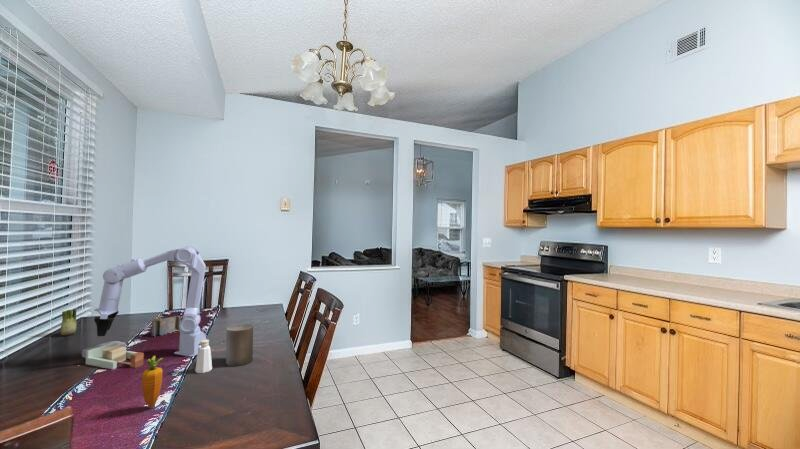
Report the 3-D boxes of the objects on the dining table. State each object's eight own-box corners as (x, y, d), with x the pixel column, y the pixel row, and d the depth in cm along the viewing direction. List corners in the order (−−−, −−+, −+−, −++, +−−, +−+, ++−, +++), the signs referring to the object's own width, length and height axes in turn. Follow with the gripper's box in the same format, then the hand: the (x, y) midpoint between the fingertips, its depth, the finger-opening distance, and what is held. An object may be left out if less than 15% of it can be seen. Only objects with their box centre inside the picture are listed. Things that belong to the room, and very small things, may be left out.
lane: (140, 359, 133) (141, 346, 133) (113, 369, 123) (113, 355, 123) (114, 354, 136) (114, 342, 136) (85, 364, 127) (86, 350, 127)
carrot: (148, 403, 100) (149, 353, 100) (165, 403, 101) (167, 353, 101) (136, 412, 95) (138, 359, 96) (154, 412, 96) (156, 359, 96)
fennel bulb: (75, 332, 162) (76, 307, 162) (78, 334, 159) (78, 309, 159) (58, 335, 157) (59, 309, 158) (60, 337, 155) (61, 311, 155)
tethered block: (145, 363, 128) (146, 350, 129) (132, 368, 124) (132, 355, 124) (116, 358, 133) (116, 345, 133) (102, 363, 128) (102, 350, 128)
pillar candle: (258, 359, 135) (258, 321, 136) (237, 368, 126) (238, 328, 127) (241, 355, 139) (241, 318, 140) (219, 363, 131) (220, 324, 131)
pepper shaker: (215, 368, 126) (216, 339, 126) (202, 374, 121) (203, 343, 121) (204, 366, 127) (205, 337, 128) (191, 372, 122) (192, 341, 122)
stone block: (78, 362, 133) (98, 359, 131) (77, 349, 134) (96, 347, 132) (109, 352, 145) (128, 350, 143) (108, 341, 145) (127, 338, 143)
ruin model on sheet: (154, 338, 158) (155, 317, 158) (151, 337, 160) (152, 316, 160) (180, 332, 168) (181, 312, 168) (177, 330, 170) (177, 311, 170)
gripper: (101, 293, 135) (94, 327, 135) (92, 301, 123) (84, 339, 122) (123, 294, 139) (116, 327, 138) (117, 302, 127) (109, 338, 126)
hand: (103, 332), depth 131 cm, fingers open, 7 cm apart
